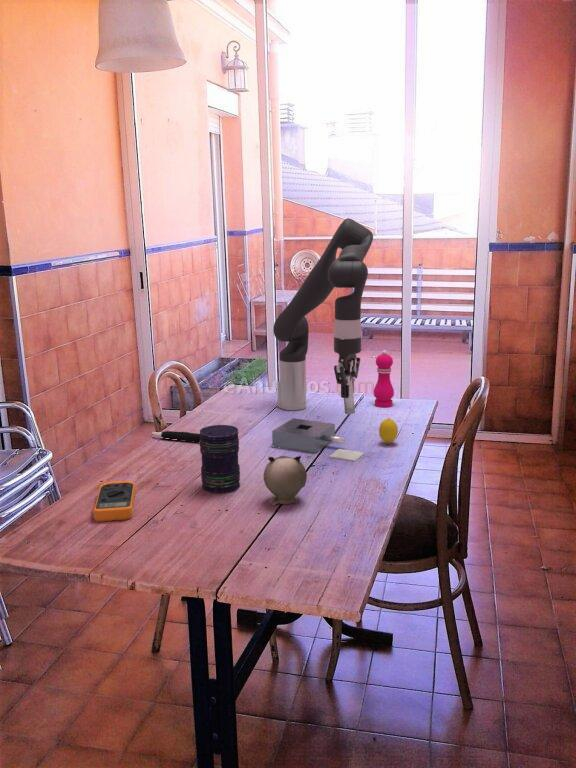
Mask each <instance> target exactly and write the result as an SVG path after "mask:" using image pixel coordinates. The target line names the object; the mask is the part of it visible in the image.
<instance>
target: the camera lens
mask: <svg viewBox="0 0 576 768" xmlns="http://www.w3.org/2000/svg"><path fill="white" fill-rule="evenodd" d="M199 434H200V443H199V451H200V455H201V468H200V472H201V473H200V474H201V475H200V478H201V483H202V484H201V489H202V490H203V491H204V492H206V493H209V494H215V495H223V494H224V495H225V494H229V493H233V492H236V491H237V490H239V489H240V487H241V483H240V480H241V466H240V464H239V451H240V439H239V428H238V427H236V426H233V425H229V424H215V425H209V426H205V427H202V428H201V429H200V430H199ZM238 488H239V489H238ZM235 490H236V491H235Z"/></svg>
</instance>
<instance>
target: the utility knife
mask: <svg viewBox="0 0 576 768" xmlns="http://www.w3.org/2000/svg"><path fill="white" fill-rule="evenodd" d="M151 434H152V435H153V436H155V437H157V436H158V437H157V438H161V437H163V438H169V439H177V440H185V441H194V442H193V443H197V442H200V433H196V432H194V433H192V432H188V431H172V430H171V431H170V430H165V431H164V430H163V431H162V432H160V431H159V432H156V431H155V432H154V431H152V432H151ZM163 438H162V439H163Z"/></svg>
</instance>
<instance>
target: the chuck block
mask: <svg viewBox="0 0 576 768" xmlns="http://www.w3.org/2000/svg"><path fill="white" fill-rule="evenodd" d="M271 432H272V434H271V436H272V437H271V439H272V440H271V441H272V442H271V443H272V447H273V446H274V448H277V447H280V448H279V449H284V448H287V449H286V450H290V449H293V450H292V451H297V450H300V451H299V452H303V451H306V452H305V453H309V452H313V453H312V454H316V452H317V451H318V452H319V451H321V450H322V449H324V448H325V447H326V446H328V445H329V444H331V443H337V444H338V443H339V444H345V443H346V437H344V436H343V437H342V436H336V424H335V423H330V422H326V421H325V422H324V421H318V420H317V421H316V420H310V419H301V418H292V419H290V420H288V421H286V422H285V423H282V425H279V426H278V427H276V428H274V429H272V431H271ZM320 449H321V450H320ZM318 452H317V453H318Z"/></svg>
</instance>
